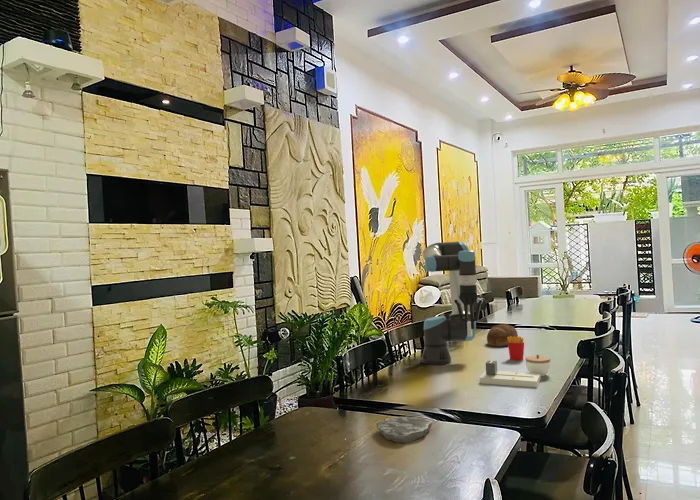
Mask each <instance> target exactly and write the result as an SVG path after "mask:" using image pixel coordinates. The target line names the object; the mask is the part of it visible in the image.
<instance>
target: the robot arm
mask: <svg viewBox="0 0 700 500" xmlns="http://www.w3.org/2000/svg"><path fill="white" fill-rule="evenodd" d="M422 257H423V259H424V260H423V261H424V270H425V271H426V272H428V273H429V272H432V273H434V272H448V274H449V276H448V277H449V289H450V302H451V304H450V305H451V313H450V314H449V316H448V317H449V318H447V317H446V316H444V315H441V316H433V317H428V318H426V319H425V320H424V322H423V336H424V339H423V341H424V347H423V348H424V349H423V352H422V357H421V363H422V364H425V365H430V366H431V365H433V366H435V365H436V366H437V365H438V366H439V365H448V364H450V363H451V362H452V356H451V354H450V350H449V349H448V342H469V341H473V340H474V339H475V336H476V328H477V324H476V322H477V321H479V318H480V311H481V308H482V304H483V302H484V299H481V298H480V297H479V295H478V290H477V272H476V271H477V270H476V269H477V268H476V266H477V265H476V264H477V263H476V259H477V258H476V253H475V250H469V247H468V244H467V243H466V242H465V241H447V242H446V241H445V242H435V243H432V244H430V245H428V246H427V247H425V249H424V250H423V253H422ZM476 303H477V304H476ZM475 304H476V310H475V307H474V306H475Z"/></svg>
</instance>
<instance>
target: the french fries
mask: <svg viewBox="0 0 700 500" xmlns="http://www.w3.org/2000/svg"><path fill="white" fill-rule="evenodd" d="M507 339H508V346H507V347H508V354H509V359H510V360H511V361H523V360H524V356H525V355H524V354H525V353H524V351H525V342H524V337H522V336H518V337H515V336H514V337H512V336H510V337H507Z"/></svg>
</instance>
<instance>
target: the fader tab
mask: <svg viewBox="0 0 700 500" xmlns="http://www.w3.org/2000/svg"><path fill="white" fill-rule="evenodd" d="M485 371H486V374H490V375H496V373H497V371H498V361H497V360H487V361H486V362H485Z"/></svg>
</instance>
